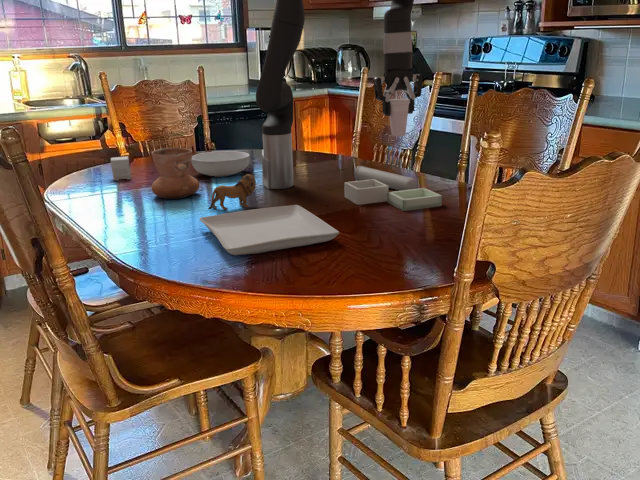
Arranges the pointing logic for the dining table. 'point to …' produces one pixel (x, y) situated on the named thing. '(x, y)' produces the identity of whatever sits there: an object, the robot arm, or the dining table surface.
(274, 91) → the robot arm
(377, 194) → the hollow square frame
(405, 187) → the tube
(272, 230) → the square plate
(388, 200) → the tray
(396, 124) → the smoothie
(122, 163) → the skincare box
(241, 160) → the serving bowl
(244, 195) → the lion figurine
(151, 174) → the dining table surface
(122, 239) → the dining table surface
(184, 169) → the ceramic jug
